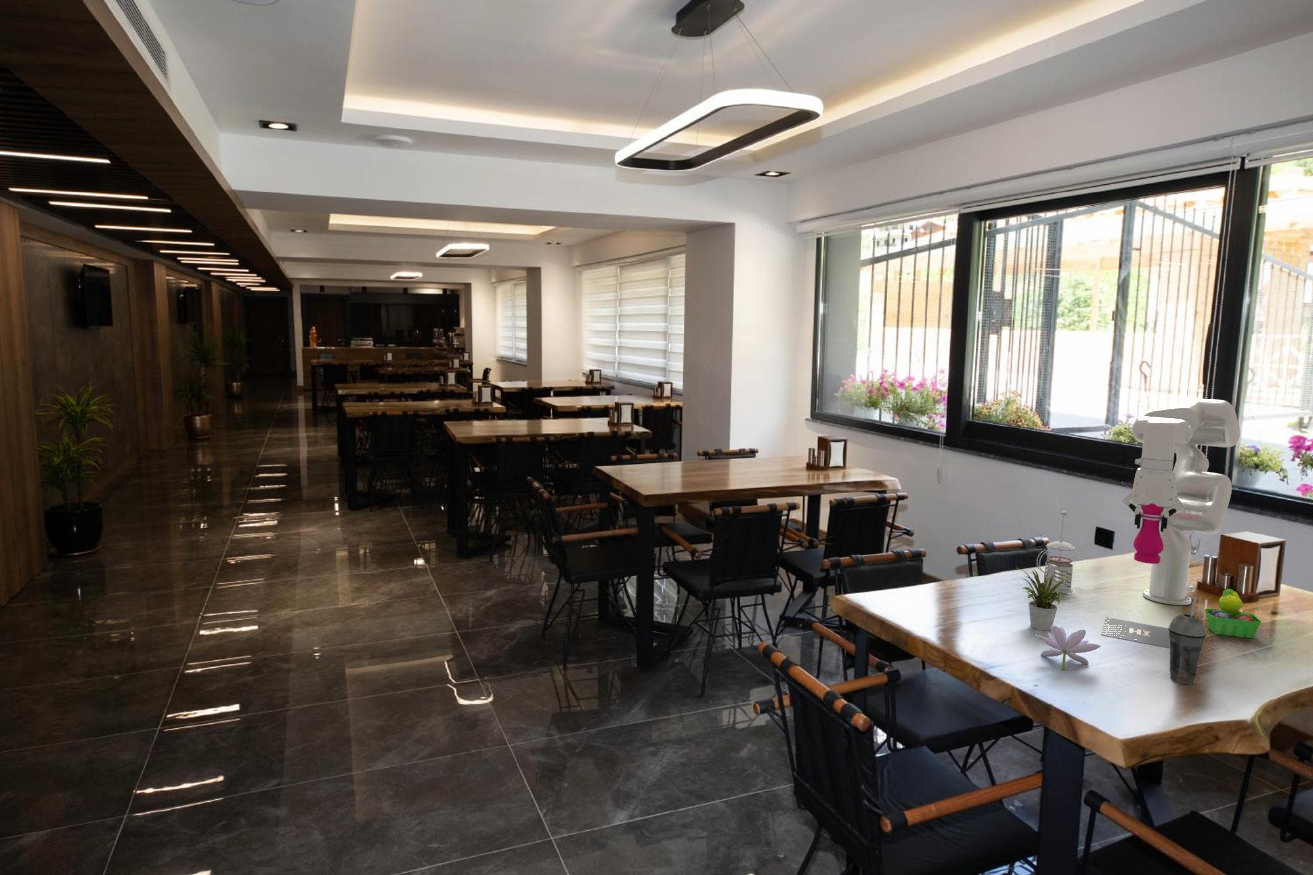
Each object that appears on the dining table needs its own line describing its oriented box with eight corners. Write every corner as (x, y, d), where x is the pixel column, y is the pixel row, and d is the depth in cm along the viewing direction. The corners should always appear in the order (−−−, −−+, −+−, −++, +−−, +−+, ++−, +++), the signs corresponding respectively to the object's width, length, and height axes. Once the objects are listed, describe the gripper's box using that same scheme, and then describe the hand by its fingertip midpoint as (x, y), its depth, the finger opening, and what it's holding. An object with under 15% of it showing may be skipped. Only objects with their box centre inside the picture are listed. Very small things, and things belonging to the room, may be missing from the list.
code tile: (1101, 634, 214) (1101, 634, 214) (1105, 617, 229) (1105, 616, 229) (1177, 649, 205) (1177, 648, 205) (1176, 630, 220) (1177, 629, 220)
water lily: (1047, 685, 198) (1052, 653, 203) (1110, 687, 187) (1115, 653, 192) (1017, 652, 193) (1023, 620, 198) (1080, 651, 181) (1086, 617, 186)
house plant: (999, 625, 220) (1004, 567, 218) (1017, 613, 230) (1022, 558, 228) (1055, 639, 210) (1060, 579, 208) (1071, 626, 220) (1077, 568, 218)
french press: (1080, 594, 250) (1087, 515, 247) (1042, 593, 250) (1049, 514, 247) (1065, 584, 259) (1071, 508, 256) (1028, 583, 259) (1035, 507, 256)
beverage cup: (1155, 673, 189) (1164, 591, 187) (1184, 673, 190) (1194, 591, 188) (1178, 687, 182) (1187, 601, 180) (1208, 686, 183) (1218, 601, 180)
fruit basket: (1210, 634, 217) (1214, 594, 216) (1200, 624, 225) (1205, 584, 224) (1260, 641, 213) (1265, 599, 212) (1249, 630, 221) (1253, 590, 220)
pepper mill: (1153, 558, 230) (1160, 489, 227) (1167, 565, 223) (1174, 493, 220) (1127, 556, 230) (1134, 487, 228) (1139, 563, 223) (1146, 492, 221)
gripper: (1120, 463, 225) (1114, 527, 227) (1193, 470, 216) (1186, 536, 218) (1122, 460, 231) (1115, 522, 233) (1193, 466, 222) (1186, 531, 224)
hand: (1150, 528), depth 225 cm, fingers closed on pepper mill, 5 cm apart
